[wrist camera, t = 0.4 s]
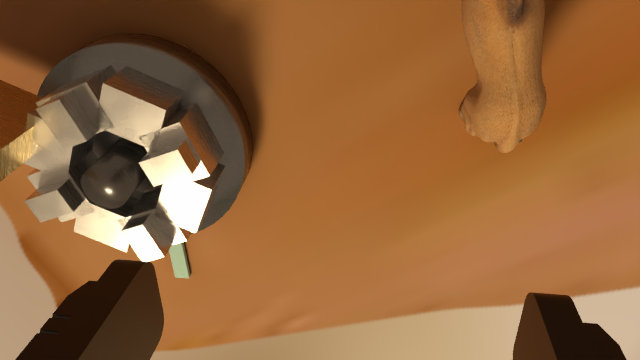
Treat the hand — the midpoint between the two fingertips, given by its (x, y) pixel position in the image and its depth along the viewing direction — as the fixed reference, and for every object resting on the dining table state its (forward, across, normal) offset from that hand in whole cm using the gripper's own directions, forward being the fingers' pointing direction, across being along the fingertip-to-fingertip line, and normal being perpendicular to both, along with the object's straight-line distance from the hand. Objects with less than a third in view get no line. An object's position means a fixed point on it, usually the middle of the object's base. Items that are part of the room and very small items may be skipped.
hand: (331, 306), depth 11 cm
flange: (+18, +12, +4) cm, 22 cm away
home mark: (+18, +12, +14) cm, 26 cm away
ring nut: (+16, +15, +3) cm, 22 cm away
